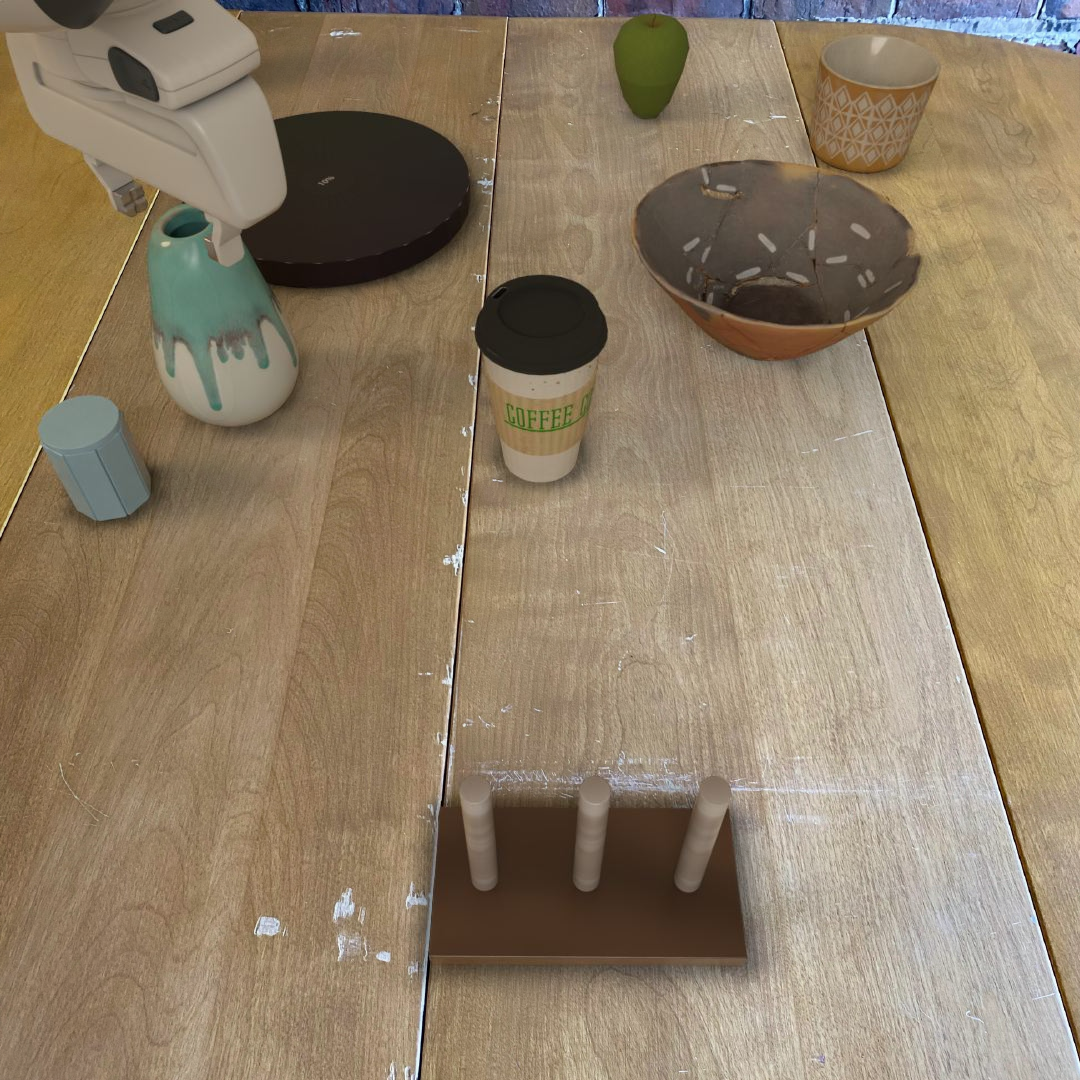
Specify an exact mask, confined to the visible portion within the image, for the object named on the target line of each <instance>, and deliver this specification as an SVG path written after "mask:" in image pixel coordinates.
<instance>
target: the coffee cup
mask: <svg viewBox="0 0 1080 1080" xmlns="http://www.w3.org/2000/svg"><path fill="white" fill-rule="evenodd" d="M608 336H609V328H608V324H607V319H606V316H605V314H604V312H603V311H602V309H601V307H600V304H599V302H598V300H597V298H596V296H595V295H594V294H593V293H592V292H591V290H590V289H588V288H587V287H585V286H584V285H583V284H581V283H579V282H577V281H575V280H573V279H570V278H567V277H563V276H560V275H553V274H529V275H523V276H518V277H516V278H512V279H509V280H507V281H505V282H503V283H501V284H499V285H498V286H497V287H495V288H494V289H493V290H492V291H491V292H490V293H489V294H488V295H487V297H486V298H485V300H484V302H483V306H482V307H481V309H480V310H479V312H478V315H477V317H476V320H475V325H474V340H475V343H476V345H477V347H478V349H479V350H480V351H481V353H482V354H483V369H484V374H485V379H486V385H487V389H488V393H489V399H490V404H491V409H492V414H493V418H494V424H495V429H496V432H497V434H498V437H499V441H500V447H501V451H502V456H503V461H504V463H505V467H507V469H508V470H509V472H511V473H512V474H513V475H514V476H515V477H518V478H519V479H521V480H523V481H527V482H531V483H540V484H541V483H542V484H543V483H550V482H554V481H557V480H561V479H562V478H564V477H565V476H567V475H568V474H569V473H570V472H572V470H574V467H575V466H576V464H577V461H578V457H579V452H580V446H581V442H582V438H583V436H584V434H585V431H586V427H587V422H588V419H589V418H588V417H589V413H590V409H591V403H592V400H593V399H592V397H593V394H594V389H595V384H596V379H597V375H598V371H599V361H600V360H599V355H600V354H601V353H602V351H603V350H604V349H605V346H606V344H607V341H608V338H609V337H608Z"/></svg>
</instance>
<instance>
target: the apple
mask: <svg viewBox="0 0 1080 1080" xmlns="http://www.w3.org/2000/svg"><path fill="white" fill-rule="evenodd" d="M612 50H613V58H614V67H615V72H616V76H617V80H618V83H619V87H620V91H621V94H622V98H623V99H624V101H625V103H626V104H627V106H628V107H629V109H630V110H631V111H632V113H633V114H634V115H635V116H636V117H639V118H641V119H655V118H656V117H658V115H659V114H660V113H661V112H662V111H663V110H664V109H665V108H666V107H667V106H668V105H669V104H670V102H671V100H672V97H673V96H674V94H675V91H676V89H677V87H678V85H679V82H680V80H681V77H682V75H683V72H684V70H685V66H686V62H687V59H688V55H689V52H690V43H689V37H688V32H687V30H686V28H685V26H684V25H683V24H682V23H681V21H679V20H678V19H677V18H675V17H673V16H671V15H667V14H661V13H645V14H639V15H635V16H633V17H632V18H630V19H627V21H625V22H624V23H623V24H622V25H621V26H620V29H619V31H618V33H617V36H616V37H615V40H614V42H613V44H612Z"/></svg>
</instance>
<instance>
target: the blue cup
mask: <svg viewBox="0 0 1080 1080" xmlns="http://www.w3.org/2000/svg"><path fill="white" fill-rule="evenodd" d="M37 432H38V437H39V438H40V445H41V447H42V449H43V451H44V453H45V455H46V456H47V458H48V460H49V462H50V464H51V466H52V467H53V469H54V471H55V473H56V474H57V476H58V478H59V480H60V482H61V484H62V485H63V487H64V489H65V492H66V493H67V495H68V497H69V498H70V500H71V502H72V504H73V506H74V508H75V510H76V511H77V512H79V513H81V514H83V515H84V516H86V517H87V518H89V519H92V520H93V521H95V522H97V521H98V522H103V521H104V522H105V521H110V520H115V519H121V518H127V517H128V516H131V515H132V514H133V513H134V512H135V511H136V510H137V509H139V508H140V507H141V506H143V504H145V503H146V502H147V501H148V500H149V499H150V497H151V494H152V493H151V489H152V488H151V487H152V485H151V484H152V477H151V474H150V472H149V470H148V467H147V466H146V462H145V461H144V459H143V457H142V455H141V452H140V449H139V447H138V445H137V443H136V440H135V438H134V436H133V433H132V431H131V430H130V427H129V425H128V422H127V420H126V418H125V415H124V414H123V411H122V410H121V409H120V408H118V406H117V405H116V404H115V402H113V401H112V400H110V399H109V398H107V397H105V396H101V395H94V394H86V395H78V396H74V397H70V398H67V399H65V400H63V401H60V402H58V403H56V404H55V405H54V406H52V407H51V408H49V409H48V410H47V411H46V412H45V413H44V414H43V416H42V417H41V419H40V421H39V423H38V428H37Z"/></svg>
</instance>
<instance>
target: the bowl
mask: <svg viewBox="0 0 1080 1080" xmlns="http://www.w3.org/2000/svg"><path fill="white" fill-rule="evenodd" d="M708 191H712V192H714V193H719V194H729V195H730V196H731V198H730V197H728V196H718V195H714V194H713V195H712V194H710V193H709V192H708ZM630 238H631V242H632V245H633V248H634V249H635V251H636V253H637V255H638V258H639V261H640V262H641V264H642V265H643V266H644V268H645V270H646V271H647V273H648V274H649V275H650V277H652V279H653V280H654V281H655V282H656V283H657V284H658V285H659V287H661V289H662V290H663V291H664V292H666V294H667V295H668V296H669V297H670V298H671V299H672V300H673V301H674V302H675V303H676V304H677V305H678V307H679V308H680V309H681V310H682V311H683V312H684V313H685V314H686V315H687V316H688V317H689V318H690V319H691V320H692V321H693V322H694V324H695V325H697V326H698V327H699V328H700V329H701V331H703V332H704V333H705V334H707V335H708V336H709V337H711V338H712V339H713V340H715V341H716V342H718V343H719V344H721V345H722V346H724V348H727V349H729V350H730V351H731V352H734V353H736V354H738V355H740V356H742V357H745V358H749V359H753V360H757V361H764V362H767V361H768V362H770V361H771V362H777V361H778V362H780V361H787V360H793V359H797V358H801V357H802V358H803V357H806V356H809V355H812V354H815V353H817V352H820V351H822V350H824V349H826V348H829V347H830V346H833V345H836V344H837V343H839V342H841V341H843V340H845V339H847V338H848V337H850V336H852V335H854V334H857V333H858V332H860V331H863V330H864V329H866V328H868V327H869V326H871V325H873V324H874V323H875V322H878V321H879V320H881V319H882V318H884V317H885V316H887V315H888V314H889V313H891V312H892V311H893V310H895V309H896V308H897V307H898V306H899V305H900V304H902V303H903V302H904V301H905V300H907V298H908V297H909V296H910V295H911V294H912V293H913V291H914V290H915V288H916V287H917V284H918V281H919V278H920V276H919V275H920V273H921V270H922V267H923V256H922V254H921V253H919V252H917V253H913V254H912V252H913V250H914V244H915V240H916V232H915V230H914V227H913V226H912V224H911V223H910V222H909V220H908V219H907V218H906V216H905V215H903V214H902V213H901V212H900V211H899V210H898V209H897V208H895V207H894V206H893V205H892V204H891V203H890V202H889V201H888V200H887V199H886V198H885V196H883V194H881V193H879V192H877V191H875V190H874V189H872V188H870V187H868V186H866V185H864V184H862V183H860V182H858V181H856V180H854V179H853V178H851V177H849V176H847V175H845V174H843V173H839V172H836V171H833V170H829V169H826V168H822V167H817V166H812V165H806V164H801V163H795V162H788V161H787V162H786V161H779V160H768V159H743V160H723V161H715V162H711V163H704V164H701V165H697V166H695V167H691V168H688V169H684V170H682V171H680V172H677V173H674V174H672V175H671V176H669V177H668V178H666V179H665V180H663V181H662V182H661V183H658V184H657V185H655V186H654V187H652V188H651V189H649V191H648V192H647V193H646V194H644V196H643V197H642V198H641V200H640V201H639V202H638V203H637V205H636V206H635V209H634V211H633V215H632V219H631V223H630ZM771 277H775V278H776V279H778V280H787V281H790V282H792V283H796V284H799V285H778V284H775V283H774V284H769V285H768V284H764V283H763V284H762V283H761V284H758V283H756V284H755V283H754V284H747V285H743V284H745V283H747V282H754V281H759V280H760V279H763V278H771ZM737 286H739V287H738V289H737V292H735V294H734V295H733V294H732V292H733V288H734V287H737Z"/></svg>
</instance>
